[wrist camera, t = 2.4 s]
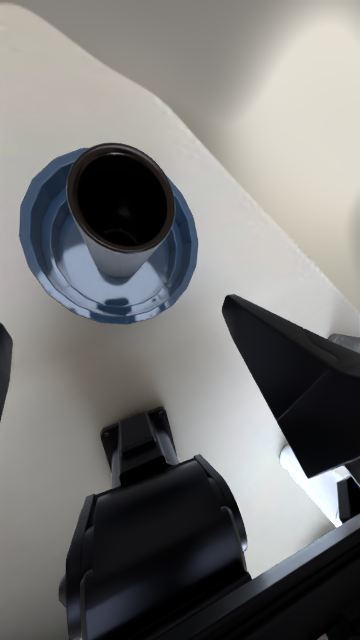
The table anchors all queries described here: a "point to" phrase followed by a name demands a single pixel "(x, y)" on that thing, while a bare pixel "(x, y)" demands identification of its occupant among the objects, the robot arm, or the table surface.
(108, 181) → the grey hollow cylinder
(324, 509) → the milkshake
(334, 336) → the flask
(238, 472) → the table surface
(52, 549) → the table surface
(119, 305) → the basin
